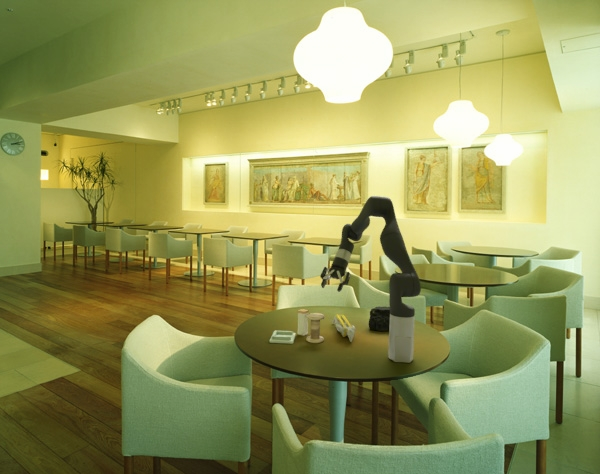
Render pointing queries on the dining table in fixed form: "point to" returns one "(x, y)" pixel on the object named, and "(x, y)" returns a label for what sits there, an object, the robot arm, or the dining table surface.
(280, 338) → the ridged board
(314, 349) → the dining table surface
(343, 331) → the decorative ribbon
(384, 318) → the rock
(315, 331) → the bobbin
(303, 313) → the block
